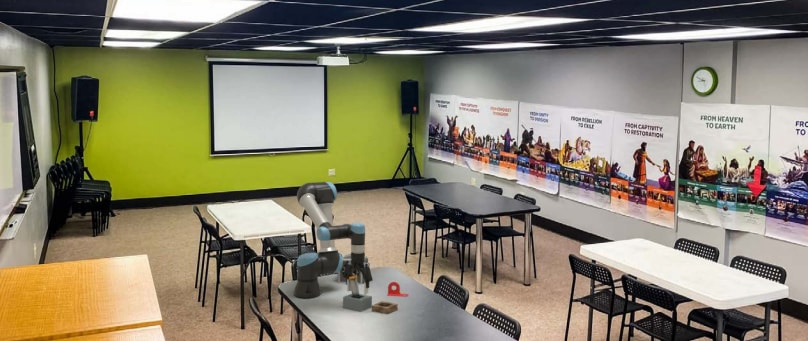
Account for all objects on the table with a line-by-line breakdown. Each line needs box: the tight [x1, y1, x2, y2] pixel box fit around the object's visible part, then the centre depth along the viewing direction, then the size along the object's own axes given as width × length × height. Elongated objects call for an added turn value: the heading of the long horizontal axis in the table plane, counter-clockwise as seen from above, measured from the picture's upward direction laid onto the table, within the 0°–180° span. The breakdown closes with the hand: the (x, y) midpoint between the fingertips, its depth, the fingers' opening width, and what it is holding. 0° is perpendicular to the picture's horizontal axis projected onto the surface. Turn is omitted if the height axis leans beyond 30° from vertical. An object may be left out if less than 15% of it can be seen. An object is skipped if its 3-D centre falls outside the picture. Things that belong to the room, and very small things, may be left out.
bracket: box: [387, 281, 410, 297], centre depth 366 cm, size 12×4×8 cm, turn 83°
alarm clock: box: [337, 253, 369, 285], centre depth 391 cm, size 18×13×18 cm
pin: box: [349, 275, 361, 299], centre depth 343 cm, size 5×5×13 cm
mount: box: [371, 300, 399, 315], centre depth 339 cm, size 10×10×3 cm
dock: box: [342, 293, 373, 312], centre depth 343 cm, size 12×10×6 cm
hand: (357, 292), depth 342 cm, fingers open, 10 cm apart
